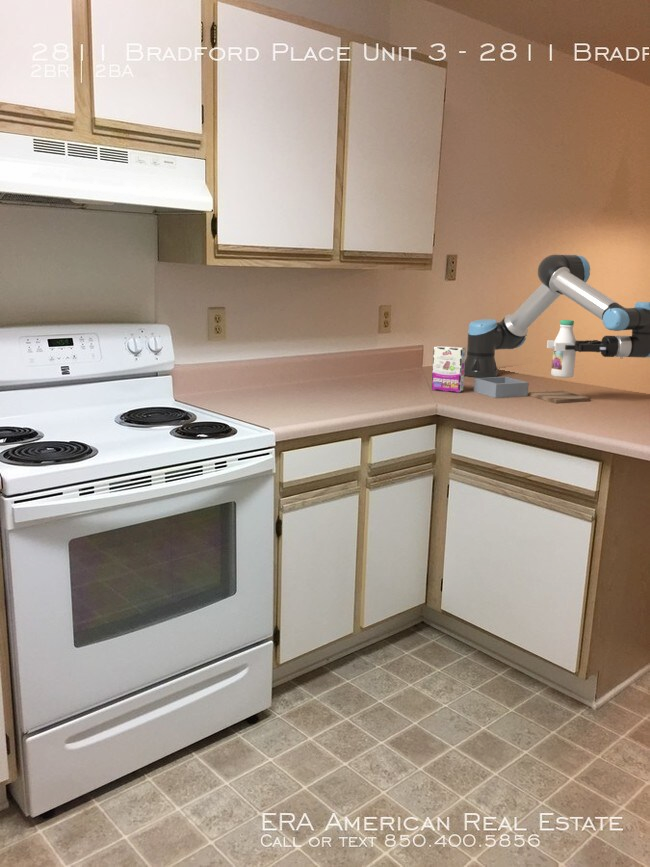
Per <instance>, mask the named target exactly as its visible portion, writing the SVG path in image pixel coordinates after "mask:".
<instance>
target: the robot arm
mask: <svg viewBox="0 0 650 867" xmlns="http://www.w3.org/2000/svg"><path fill="white" fill-rule="evenodd" d="M590 275H591V265H590V262H589V261H588V259H587V258H586V257H584V256H583V255H578V254H551V255H548V256H546V257H545V258H543V259H542V260H541V261H540V263H539V265H538V268H537V277H538V279H539V281H540V282H541V284H540V285H539V286H538V287H537V288H536V289H535V290H534V291H533V292H532V293H531V294H530V295H529V297H528V298H526V300H525V301H524V302H523V303H522V304H520V306H518V308H517V309H516V310H515V311H514V312H513V313H509V314H506V315H505V316H504V317H503V319H502V320H501V321H497V320H496V319H493V318H491V319H490V318H484V319H476V320H472V321H471V322H470V323H469V325H468V330H467V346H466V347H467V348H466V356H465V369H464V377H465V376H466V377H471V378H473V377H474V378H488V377H498V366H497V363H496V359H495V352H496V350H513V349H517V348H519V347H521V346H522V345H523V344H524V343H525V341H526V339H527V338H526V336H528V334H527V333H528V328H529V327H530V326H531V325H532V324H533V323H534V322H535V321H537V319H538V318H540V317H541V315H542V314H543V313H544V312H545V311H546V310H547V309H548V308H549V307H550V306H551V305H552V304H553V303H554V302H555V301H556V300H557V299H558V298H560V297H561V295H562V296H565V297H566V298H568V299H570V300H571V301H573V302H574V303H575V304H577V305H579V306H580V307H581V308H583V309H585V310H586V311H588V312H589V313H591V314H592V315H594V316H596V318H598V319H600V320H602V324H603V326H604V328H606V329H607V330H609V331H614V332H619V331H631V335H604V336H603V337H602V339H601V340H598V339H593V340H588V339H587V340H576V342H575V345H574V343H555V351H576V352H579V353H581V352H582V353H585V352H586V353H589V352H590V353H600V354H601V356H602V357H603V358H614V357H615V358H620V359H621V360H623V359H624V358H641V359H642V358H650V301H637V302H635V304H634V307H624V306H622V305H621V304H620V303H618V302H616V301H615V300H613V299H612V298H610V297H608V296H607V295H606V294H604V293H602V292H601V291H600V290H598V289H596V288H595V287H593V286H591V285H590V284H589V283H587V282H588V281H589V279H590ZM554 342H555V339H554V340H552V339H551V340H549V339H548V340H547V343H546V348H547V349H553V347H554Z"/></svg>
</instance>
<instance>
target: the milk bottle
mask: <svg viewBox="0 0 650 867" xmlns="http://www.w3.org/2000/svg"><path fill="white" fill-rule="evenodd" d="M574 325H575V320H573V319H561V320H559V327H560V328H559V330H558V333H557V335H556V337H555V339H554V341H555V342H554V347H553V348H552V360H551V371H550V375H551V376H552V377H555V378H563V379H566V378H573V377H574V375H575V374H574V373H575V363H576V362H575V361H576V352H577V351H555V343H574V345H575V342H576V341H577V340H576V338H575V335H574V330H573V328H574Z"/></svg>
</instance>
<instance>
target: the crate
mask: <svg viewBox="0 0 650 867" xmlns="http://www.w3.org/2000/svg"><path fill="white" fill-rule="evenodd" d="M473 380H474V381H473V392H475V393H479V394H481V395H484V396H486V397H487V396H488V397H490V398H494V399H499V398H500V399H501V398H502V399H503V398H516V397H519V398H520V397H528V396H529V384H530V383H529V382H527V381H525V380H520V379H516V378H512V377H508V376H496V377H474V379H473Z"/></svg>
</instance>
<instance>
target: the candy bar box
mask: <svg viewBox="0 0 650 867" xmlns="http://www.w3.org/2000/svg"><path fill="white" fill-rule="evenodd" d="M466 353H467V348H466V347H459V346H458V347H457V346H441V345H437V346H434V347H433V353H432V354H433V355H432V375H431V376H432V377H431V378H432V379H431V390H432V391H439V392H449V393H458V394H459V393H462V392H464V386H465V385H464V384H465V375H464V369H465V360H466Z"/></svg>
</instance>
